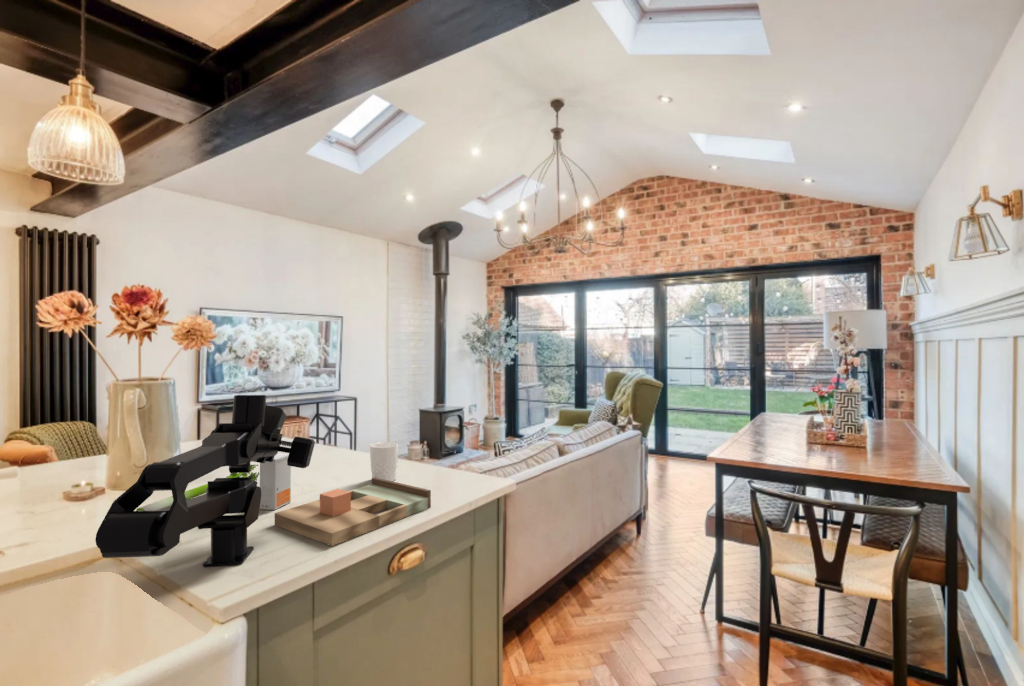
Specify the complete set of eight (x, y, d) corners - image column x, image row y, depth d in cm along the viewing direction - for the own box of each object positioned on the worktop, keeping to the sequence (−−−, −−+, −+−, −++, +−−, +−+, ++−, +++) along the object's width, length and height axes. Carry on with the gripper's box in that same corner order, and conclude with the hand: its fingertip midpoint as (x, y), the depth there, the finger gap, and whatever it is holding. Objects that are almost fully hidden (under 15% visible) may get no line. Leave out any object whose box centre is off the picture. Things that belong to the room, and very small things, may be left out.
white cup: (364, 482, 137) (364, 446, 137) (379, 475, 145) (379, 441, 145) (389, 484, 135) (389, 448, 135) (403, 477, 142) (403, 442, 142)
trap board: (331, 546, 94) (331, 525, 94) (274, 524, 105) (274, 506, 105) (430, 507, 116) (430, 490, 116) (374, 492, 128) (374, 477, 128)
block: (332, 516, 103) (332, 497, 103) (320, 512, 106) (319, 493, 106) (350, 510, 107) (350, 492, 107) (337, 506, 109) (337, 488, 109)
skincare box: (275, 510, 114) (274, 459, 114) (259, 509, 115) (258, 458, 115) (291, 502, 120) (291, 453, 120) (276, 501, 121) (276, 452, 121)
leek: (132, 523, 112) (248, 479, 140) (151, 531, 110) (265, 484, 137) (131, 498, 112) (248, 458, 139) (151, 505, 109) (266, 464, 136)
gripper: (309, 416, 101) (330, 418, 116) (218, 398, 100) (252, 403, 115) (294, 470, 99) (318, 466, 114) (201, 453, 98) (238, 451, 113)
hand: (282, 445), depth 114 cm, fingers open, 9 cm apart
